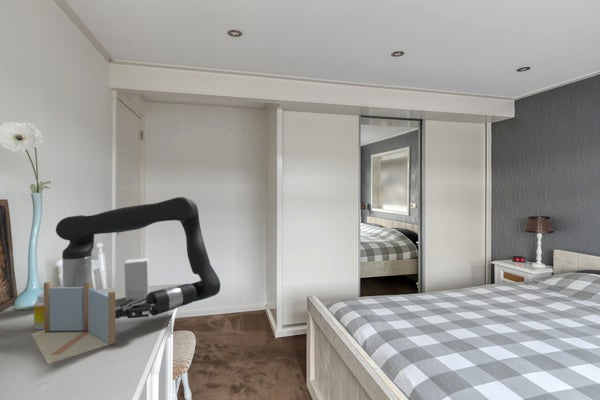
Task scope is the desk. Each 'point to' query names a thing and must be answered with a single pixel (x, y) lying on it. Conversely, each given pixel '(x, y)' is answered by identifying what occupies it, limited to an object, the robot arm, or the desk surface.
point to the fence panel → (101, 314)
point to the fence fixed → (66, 307)
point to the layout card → (66, 344)
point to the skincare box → (136, 279)
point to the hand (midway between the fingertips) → (107, 316)
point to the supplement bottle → (39, 312)
